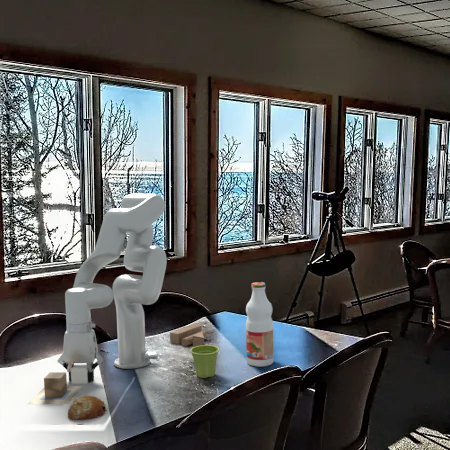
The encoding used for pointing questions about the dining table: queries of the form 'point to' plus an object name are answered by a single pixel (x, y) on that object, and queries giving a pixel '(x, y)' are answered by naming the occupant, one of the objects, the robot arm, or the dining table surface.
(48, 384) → the walnut block
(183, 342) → the wooden block set
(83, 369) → the cream block
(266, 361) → the fruit juice
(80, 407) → the bread roll
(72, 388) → the birch board
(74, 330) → the robot arm
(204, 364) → the plant pot
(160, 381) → the dining table surface
